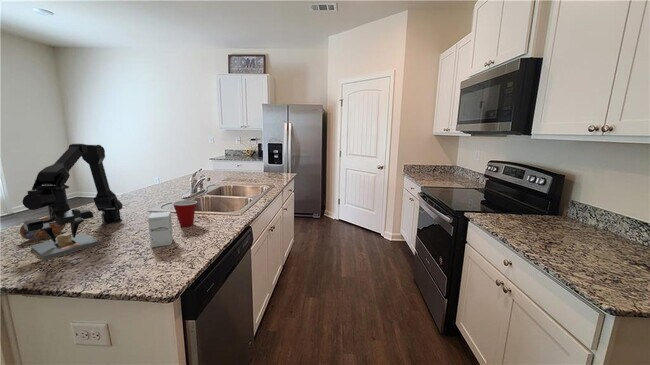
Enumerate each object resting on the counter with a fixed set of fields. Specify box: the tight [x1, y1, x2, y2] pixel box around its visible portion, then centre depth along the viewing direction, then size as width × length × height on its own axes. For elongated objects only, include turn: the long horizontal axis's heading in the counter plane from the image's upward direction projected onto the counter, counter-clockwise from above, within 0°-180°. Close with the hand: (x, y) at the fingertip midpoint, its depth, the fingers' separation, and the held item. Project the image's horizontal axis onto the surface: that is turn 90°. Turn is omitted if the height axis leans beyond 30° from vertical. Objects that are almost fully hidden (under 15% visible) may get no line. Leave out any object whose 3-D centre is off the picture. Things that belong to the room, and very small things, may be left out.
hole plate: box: [30, 232, 100, 261], centre depth 106 cm, size 16×16×2 cm
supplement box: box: [147, 211, 174, 248], centre depth 110 cm, size 7×7×13 cm
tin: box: [19, 215, 66, 241], centre depth 116 cm, size 15×3×8 cm, turn 168°
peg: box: [56, 233, 73, 248], centre depth 106 cm, size 4×4×5 cm
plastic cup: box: [172, 200, 198, 228], centre depth 131 cm, size 11×11×12 cm
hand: (64, 239), depth 106 cm, fingers open, 5 cm apart
